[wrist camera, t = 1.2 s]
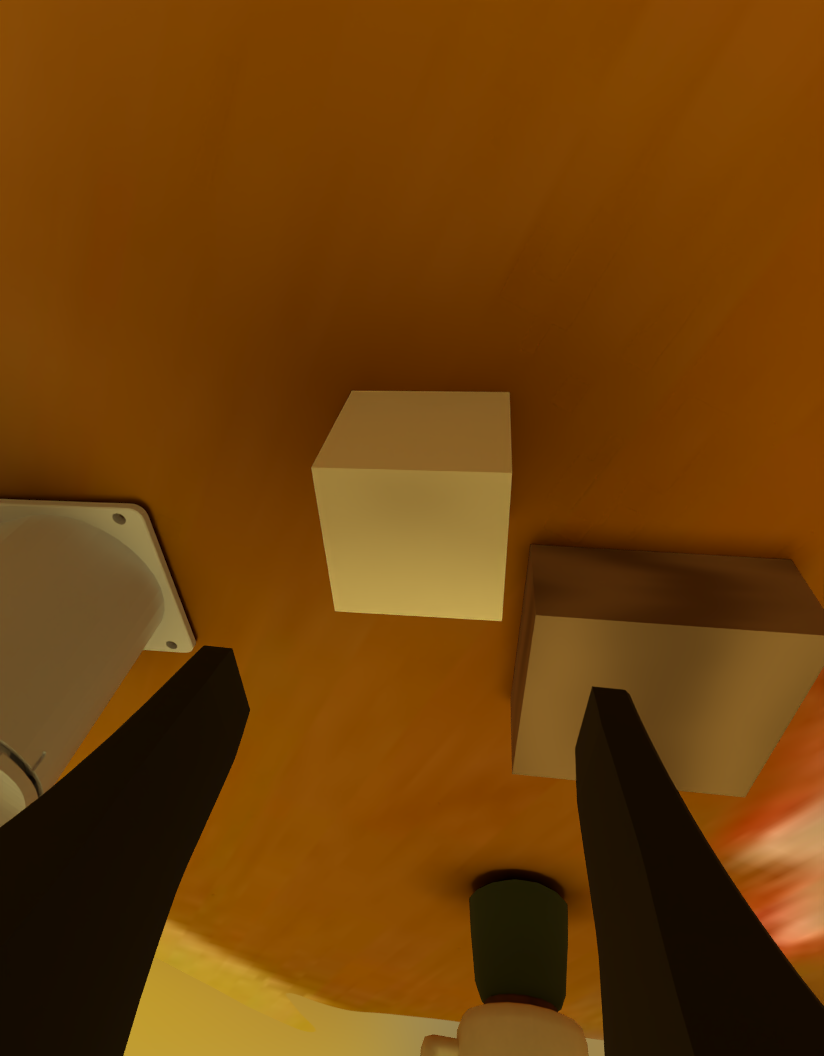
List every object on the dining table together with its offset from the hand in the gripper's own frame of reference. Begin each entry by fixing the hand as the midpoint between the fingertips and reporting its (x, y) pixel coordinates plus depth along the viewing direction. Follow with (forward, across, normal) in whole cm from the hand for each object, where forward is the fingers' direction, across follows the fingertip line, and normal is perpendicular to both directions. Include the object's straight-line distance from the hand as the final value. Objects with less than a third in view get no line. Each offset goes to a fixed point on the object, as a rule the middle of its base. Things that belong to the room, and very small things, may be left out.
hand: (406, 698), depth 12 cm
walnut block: (+10, -8, +8) cm, 15 cm away
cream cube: (+10, +1, 0) cm, 10 cm away
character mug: (+10, -5, +32) cm, 34 cm away
